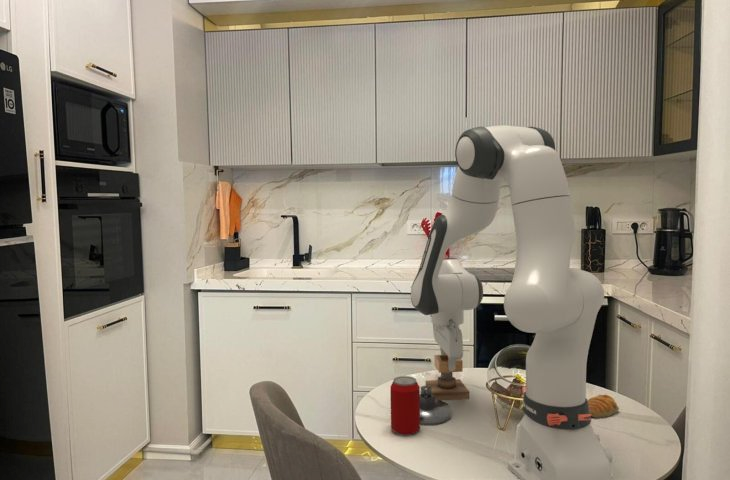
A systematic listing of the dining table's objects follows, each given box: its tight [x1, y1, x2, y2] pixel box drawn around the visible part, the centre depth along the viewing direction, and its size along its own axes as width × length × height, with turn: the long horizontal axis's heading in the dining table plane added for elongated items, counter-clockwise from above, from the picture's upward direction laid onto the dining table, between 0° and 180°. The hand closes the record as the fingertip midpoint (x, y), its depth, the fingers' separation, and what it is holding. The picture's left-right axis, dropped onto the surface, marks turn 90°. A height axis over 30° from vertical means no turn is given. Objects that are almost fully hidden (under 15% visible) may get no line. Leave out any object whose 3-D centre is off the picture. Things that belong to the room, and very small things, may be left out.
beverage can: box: [390, 375, 421, 436], centre depth 116 cm, size 7×7×12 cm
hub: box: [420, 385, 452, 426], centre depth 125 cm, size 12×12×7 cm
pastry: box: [587, 394, 620, 419], centre depth 125 cm, size 9×7×4 cm
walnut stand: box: [425, 372, 470, 401], centre depth 139 cm, size 10×10×8 cm
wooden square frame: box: [433, 354, 464, 374], centre depth 139 cm, size 6×6×3 cm
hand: (448, 365), depth 139 cm, fingers closed on wooden square frame, 6 cm apart
